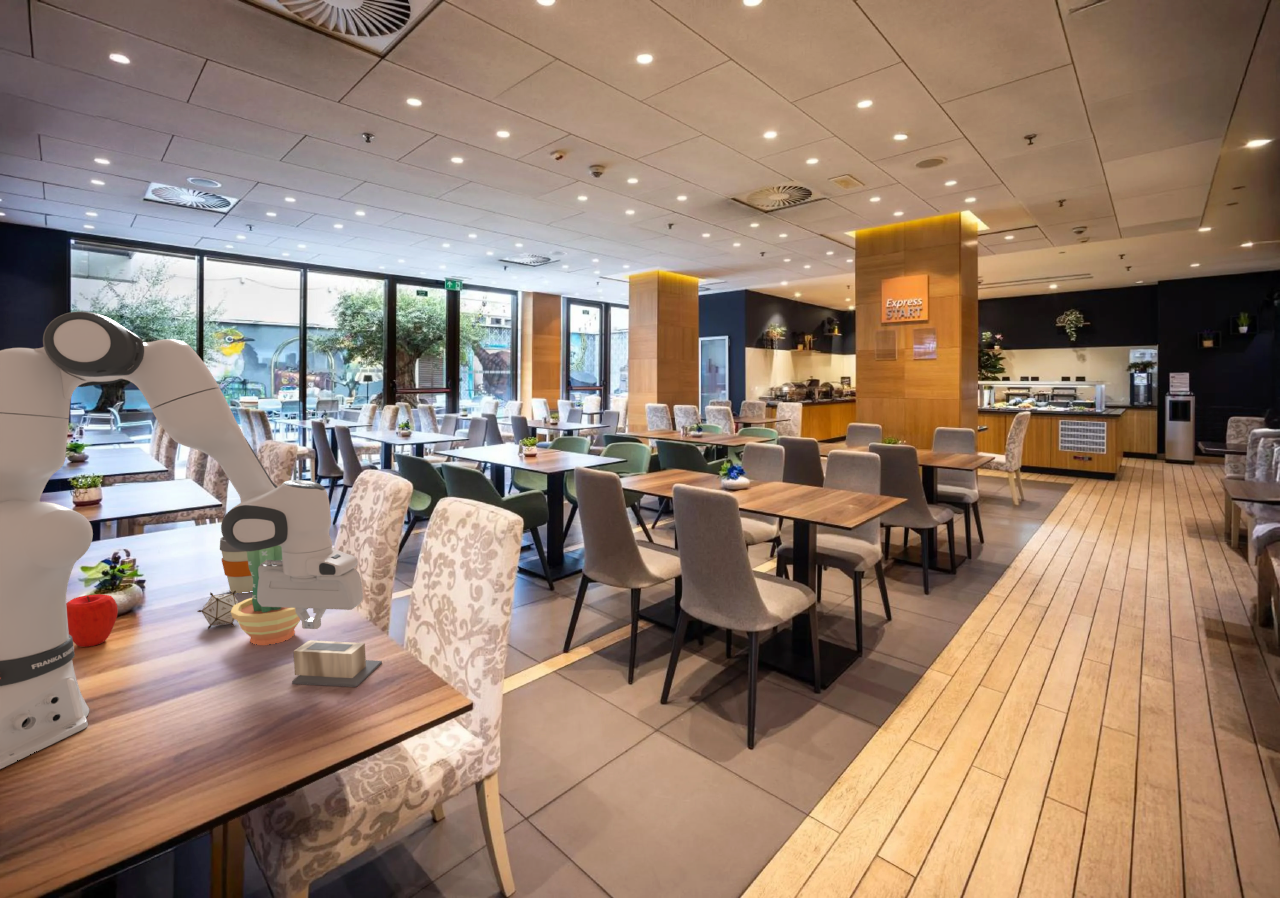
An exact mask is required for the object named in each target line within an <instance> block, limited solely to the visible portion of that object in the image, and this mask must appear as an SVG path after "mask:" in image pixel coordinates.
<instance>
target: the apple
mask: <svg viewBox="0 0 1280 898" xmlns="http://www.w3.org/2000/svg"><path fill="white" fill-rule="evenodd" d="M66 605H67V619H68V631H69V635H71V636H72V639H73V644H75V645H77V647H82V648H86V647H94V646H98V645H101V644H102V643H104V642H105V641H106V640H107V639H108V638H109V636H110V635H111V633H112V630H113V629H114V626H115V623H116V621H117V618H118V613H119V611H118V605H117V601H116V600H115V598H114V597H113V596H112V595H108V594H101V593H98V594H97V593H96V594H89V595H88V594H87V595H82V596H78V597H74V598H72V599H70V600H68V601H66Z"/></svg>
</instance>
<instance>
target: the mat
mask: <svg viewBox="0 0 1280 898" xmlns="http://www.w3.org/2000/svg"><path fill="white" fill-rule="evenodd" d="M382 664H383V661H382V660H372V659H371V660H370V659H369V660H368V659H366V667H365V668H363V669H362V670H361V671H360V672H359V673H358V674H357V675H355V676H354V677H353V678H340V677H322V676H305V675H297V677H296V678H294V679H293V680H292V681H291V684H292V685H308V686H309V685H310V686H314V685H315V686H330V687H347V688H348V687H349V688H350V687H351V688H357V687H358V686H359V685H361V683H363V682H364V681H365V680H366V679H367V678H368V677H369V676H370V675H371V674H372V673H373V672H374V671H375V670H377V669H378V668H379V666H380V665H382Z"/></svg>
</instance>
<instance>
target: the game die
mask: <svg viewBox="0 0 1280 898" xmlns="http://www.w3.org/2000/svg"><path fill="white" fill-rule="evenodd" d="M235 592H236V590H235V591H234V592H233V593H232V592H231V593H223V594H222V593H221V594H214V593H212V592H209V595H210V596H211V597H210V598H209V599H208V601H207V602H206V603H205V605H204V606H203V608H202V609H198V610H197V612H198V613H202V614H203V616H204V618H205V619H206V621H207V622H208V624H209V626H207V630H210V629H212V627H213V626H221V625H222V626H224V625H231V626H232V627H233V626H234V627H235V623H234V621H235V620H236V619H234V618H233V617H232V615H231V610H232V608H233V606H234V605H236V604H238V603H240V602H239V601H238V598H237V596H236V595H235V594H236V593H235Z"/></svg>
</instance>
